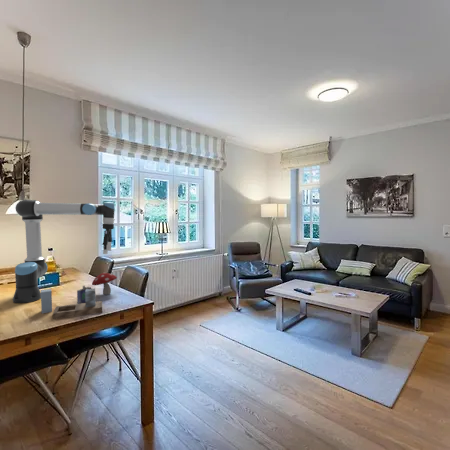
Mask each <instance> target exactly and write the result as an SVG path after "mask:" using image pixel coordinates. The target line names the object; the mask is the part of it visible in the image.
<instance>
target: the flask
mask: <svg viewBox="0 0 450 450" xmlns="http://www.w3.org/2000/svg"><path fill="white" fill-rule="evenodd" d="M86 289H92V287H91V286H86V285H82V288H81V289H77V290H76V296H77V303H76V304H81V303H86V299H85V291H86Z"/></svg>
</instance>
